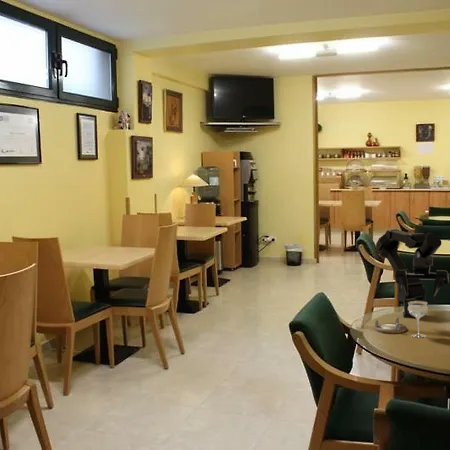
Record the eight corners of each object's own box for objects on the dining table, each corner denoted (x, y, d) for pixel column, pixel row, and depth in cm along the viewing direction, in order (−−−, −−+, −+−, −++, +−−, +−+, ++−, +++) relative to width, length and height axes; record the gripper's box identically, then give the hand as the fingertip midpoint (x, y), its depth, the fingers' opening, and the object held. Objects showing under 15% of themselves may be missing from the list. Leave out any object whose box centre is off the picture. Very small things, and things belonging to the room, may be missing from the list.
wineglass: (416, 339, 197) (415, 306, 196) (404, 334, 203) (403, 302, 202) (432, 337, 199) (431, 303, 198) (421, 332, 205) (419, 300, 204)
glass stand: (375, 325, 218) (375, 316, 218) (405, 325, 215) (405, 316, 215) (375, 333, 208) (374, 324, 207) (406, 333, 205) (406, 324, 204)
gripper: (394, 248, 214) (391, 283, 205) (447, 248, 206) (446, 284, 197) (398, 265, 222) (395, 299, 213) (449, 266, 214) (448, 301, 205)
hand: (420, 296), depth 207 cm, fingers open, 9 cm apart
